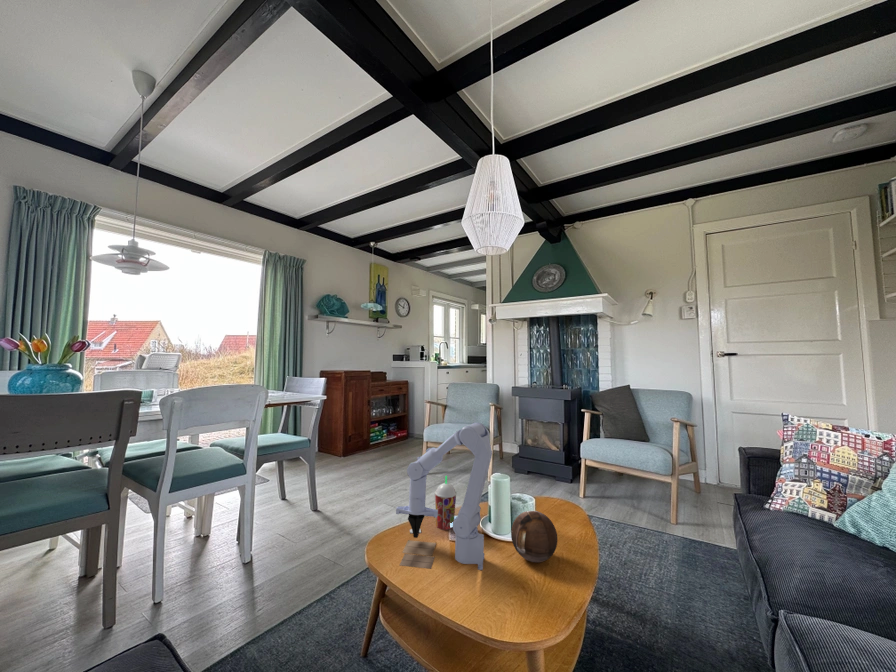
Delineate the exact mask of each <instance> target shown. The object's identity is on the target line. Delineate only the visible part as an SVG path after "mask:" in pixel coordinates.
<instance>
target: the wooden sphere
mask: <svg viewBox="0 0 896 672" xmlns="http://www.w3.org/2000/svg"><path fill="white" fill-rule="evenodd" d="M510 529H511V531H510V535H511V536H510V537H511V542H512V544H513V547H514V549H515V550H516V552H517V554H518V555H520V556H521V558H523V559H525V560H526V561H528V562H531V563H542V562H545V561H547V560H549V559H550V558H551V557H552V556H553V555H554V553H555V552H556V549H557V546H558V533H557V530H556V527H555V525H554V523H553V521H552V520H551V519H550V518H549V516H547V515H545V514H544V513H542V512H540V511H537V510H526V511H524V512H521V513H520V514H518V516H516V518H515V519H514V521H513V522H512V526H511V528H510Z"/></svg>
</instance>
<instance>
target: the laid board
mask: <svg viewBox="0 0 896 672" xmlns="http://www.w3.org/2000/svg"><path fill="white" fill-rule="evenodd" d="M435 558H436V557H435V556H434V555H432V556H428V555H418V554H409V553H403V557H402V559H401V561H400V563H399V566H401V567H411V568H419V569H428V570H431V569H432V567H433V565H434V562H435Z"/></svg>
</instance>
